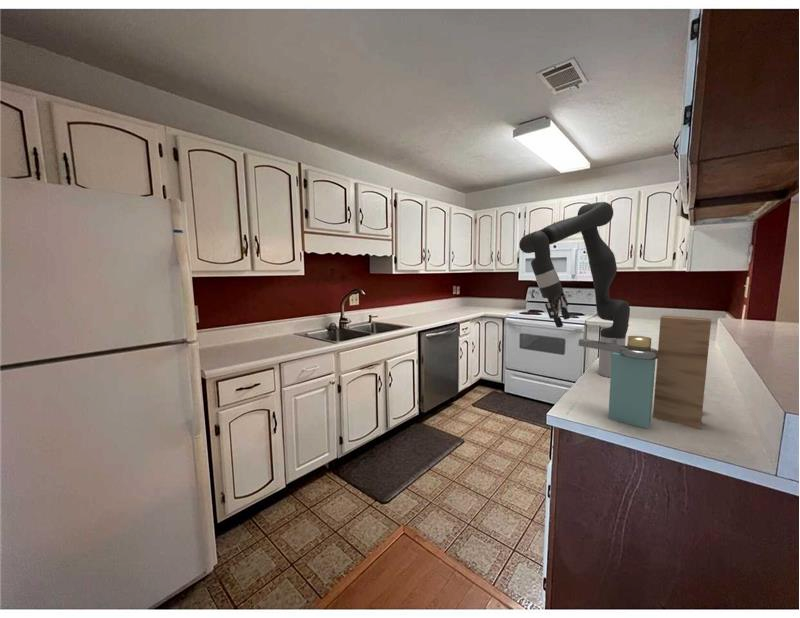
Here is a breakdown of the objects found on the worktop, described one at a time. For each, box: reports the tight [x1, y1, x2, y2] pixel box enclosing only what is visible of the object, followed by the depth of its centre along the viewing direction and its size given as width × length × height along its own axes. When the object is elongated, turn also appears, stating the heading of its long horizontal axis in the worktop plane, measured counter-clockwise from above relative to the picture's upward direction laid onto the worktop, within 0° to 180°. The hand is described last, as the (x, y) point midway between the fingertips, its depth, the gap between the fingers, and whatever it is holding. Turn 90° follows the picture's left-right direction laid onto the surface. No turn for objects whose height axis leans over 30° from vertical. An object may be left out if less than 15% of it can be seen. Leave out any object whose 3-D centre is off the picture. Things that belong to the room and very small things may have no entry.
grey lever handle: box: [578, 335, 658, 360], centre depth 100 cm, size 9×22×6 cm, turn 31°
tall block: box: [607, 352, 657, 430], centre depth 98 cm, size 6×10×21 cm, turn 45°
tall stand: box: [652, 314, 712, 430], centre depth 97 cm, size 6×11×32 cm, turn 45°
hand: (563, 322), depth 121 cm, fingers open, 8 cm apart
